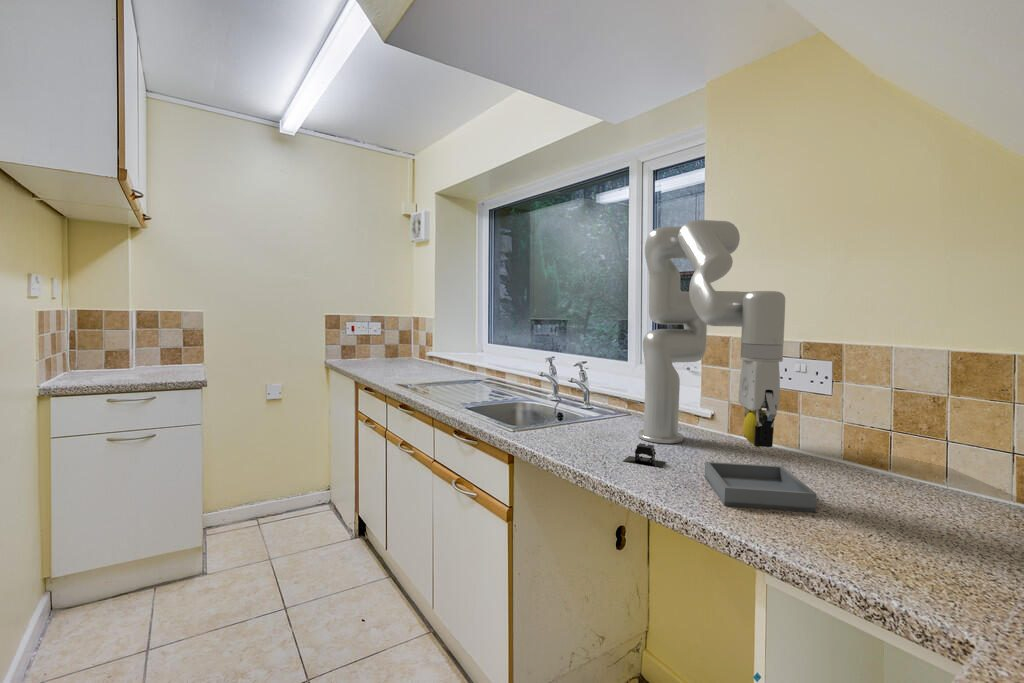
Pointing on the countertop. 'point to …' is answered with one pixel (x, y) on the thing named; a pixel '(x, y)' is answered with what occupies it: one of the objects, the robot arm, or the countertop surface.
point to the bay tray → (759, 487)
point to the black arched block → (641, 460)
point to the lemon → (751, 426)
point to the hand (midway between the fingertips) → (757, 441)
